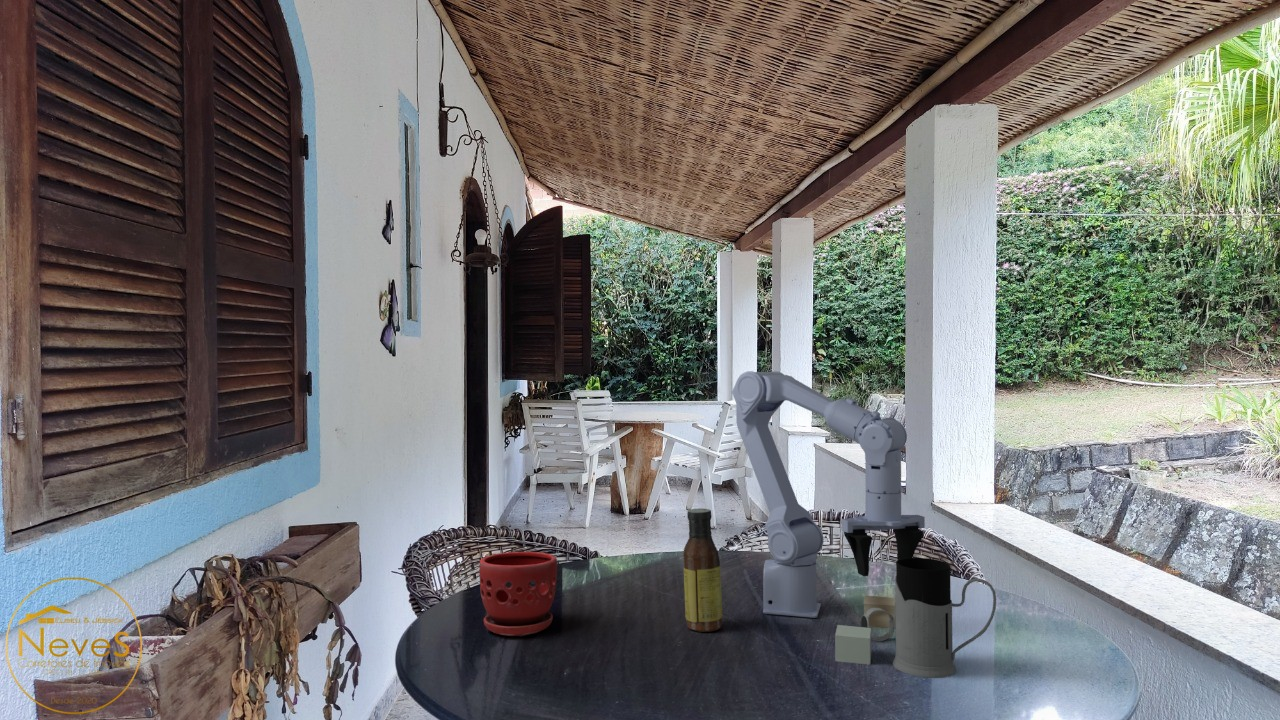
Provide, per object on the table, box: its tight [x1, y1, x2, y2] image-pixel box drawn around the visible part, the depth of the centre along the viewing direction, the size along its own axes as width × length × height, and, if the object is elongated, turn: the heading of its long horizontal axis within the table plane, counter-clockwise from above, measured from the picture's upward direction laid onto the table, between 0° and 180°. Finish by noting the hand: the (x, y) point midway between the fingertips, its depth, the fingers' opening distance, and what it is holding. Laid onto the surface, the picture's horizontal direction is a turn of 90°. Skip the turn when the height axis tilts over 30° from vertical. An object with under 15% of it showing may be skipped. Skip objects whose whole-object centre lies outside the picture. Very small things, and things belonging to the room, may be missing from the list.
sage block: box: [834, 624, 872, 666], centre depth 121 cm, size 5×5×4 cm
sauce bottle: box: [682, 507, 723, 633], centre depth 136 cm, size 7×6×20 cm
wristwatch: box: [860, 608, 896, 642], centre depth 129 cm, size 3×5×5 cm, turn 98°
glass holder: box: [892, 557, 997, 679], centre depth 116 cm, size 9×14×15 cm, turn 60°
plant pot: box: [478, 551, 558, 638], centre depth 136 cm, size 13×13×12 cm
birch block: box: [863, 595, 896, 629], centre depth 137 cm, size 5×5×4 cm
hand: (883, 573), depth 133 cm, fingers open, 7 cm apart
